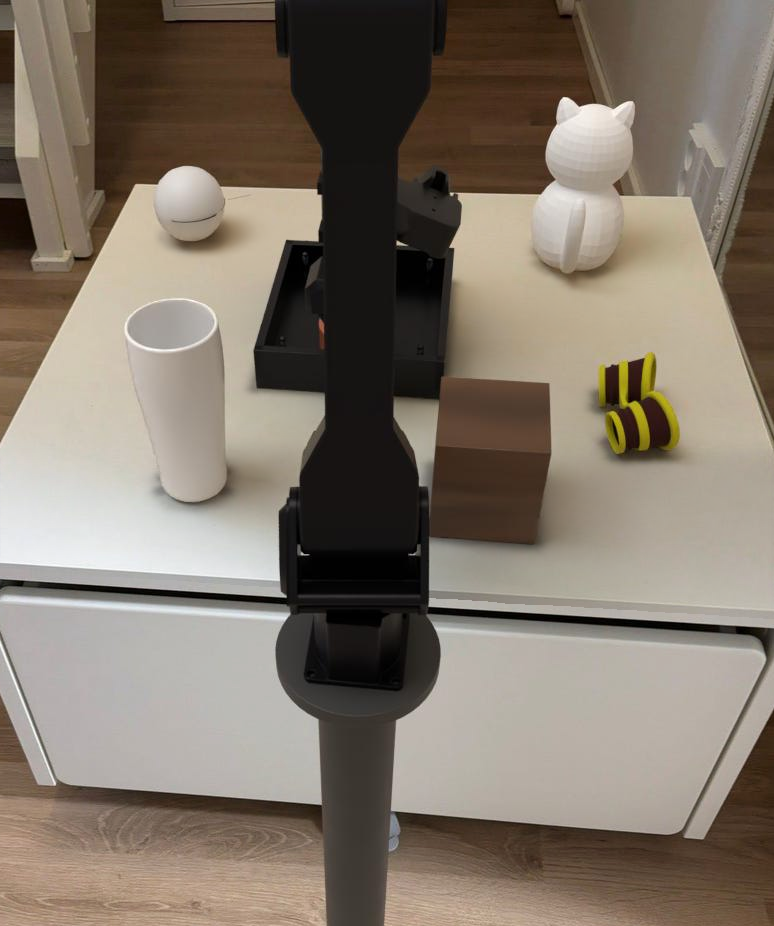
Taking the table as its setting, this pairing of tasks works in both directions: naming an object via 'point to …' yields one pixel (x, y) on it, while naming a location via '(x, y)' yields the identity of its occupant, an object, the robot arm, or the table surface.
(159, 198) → the white ball
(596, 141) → the cat figurine
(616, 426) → the opera glasses
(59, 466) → the table surface
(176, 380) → the drinking glass
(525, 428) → the block
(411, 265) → the tray
